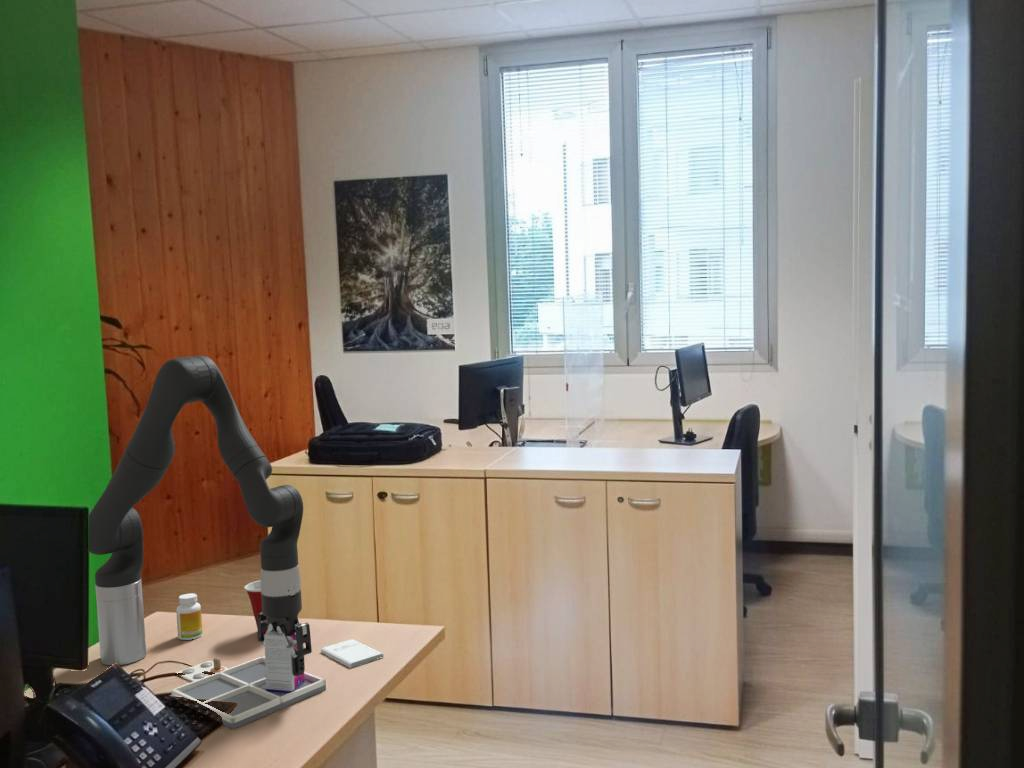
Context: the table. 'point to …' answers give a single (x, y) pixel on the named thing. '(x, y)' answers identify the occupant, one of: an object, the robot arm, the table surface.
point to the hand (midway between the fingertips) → (285, 669)
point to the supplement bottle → (189, 617)
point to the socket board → (246, 692)
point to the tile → (202, 670)
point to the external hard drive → (351, 653)
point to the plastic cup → (255, 598)
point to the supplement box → (280, 664)
